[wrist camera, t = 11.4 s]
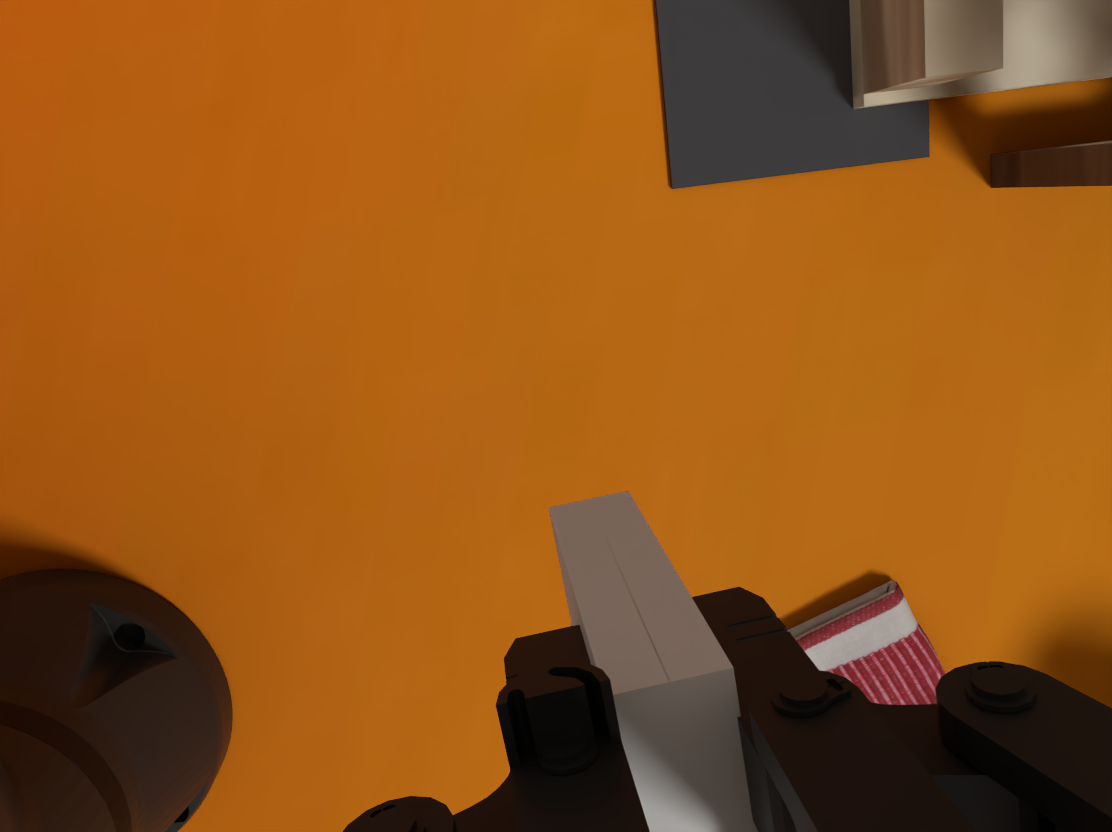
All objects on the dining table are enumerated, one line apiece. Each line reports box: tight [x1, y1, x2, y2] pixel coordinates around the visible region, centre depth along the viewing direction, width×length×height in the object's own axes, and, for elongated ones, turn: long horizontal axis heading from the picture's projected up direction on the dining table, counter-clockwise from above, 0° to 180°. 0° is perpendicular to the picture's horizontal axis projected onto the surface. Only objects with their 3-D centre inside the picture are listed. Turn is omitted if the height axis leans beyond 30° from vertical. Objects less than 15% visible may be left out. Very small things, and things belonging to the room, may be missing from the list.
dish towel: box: [787, 580, 945, 705], centre depth 49 cm, size 17×23×3 cm
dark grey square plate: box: [656, 0, 929, 189], centre depth 40 cm, size 12×11×1 cm
